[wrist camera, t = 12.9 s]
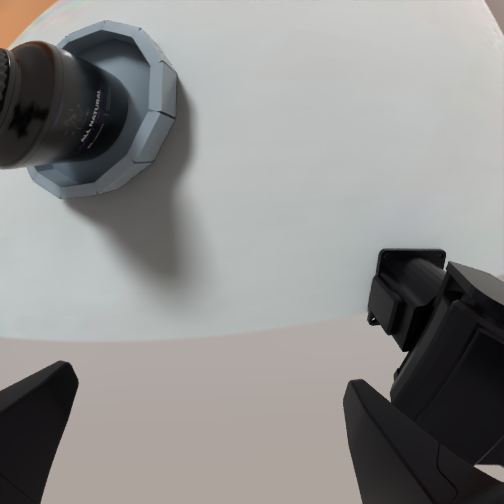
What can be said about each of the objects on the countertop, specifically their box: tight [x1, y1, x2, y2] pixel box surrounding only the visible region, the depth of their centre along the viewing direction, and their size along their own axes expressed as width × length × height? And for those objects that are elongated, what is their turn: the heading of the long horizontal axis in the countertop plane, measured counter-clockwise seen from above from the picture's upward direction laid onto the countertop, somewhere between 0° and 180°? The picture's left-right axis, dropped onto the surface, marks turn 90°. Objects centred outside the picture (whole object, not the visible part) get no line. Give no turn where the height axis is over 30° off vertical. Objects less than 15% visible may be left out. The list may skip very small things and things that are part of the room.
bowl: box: [27, 20, 177, 199], centre depth 15 cm, size 13×13×3 cm
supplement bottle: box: [0, 41, 128, 170], centre depth 10 cm, size 7×7×12 cm
